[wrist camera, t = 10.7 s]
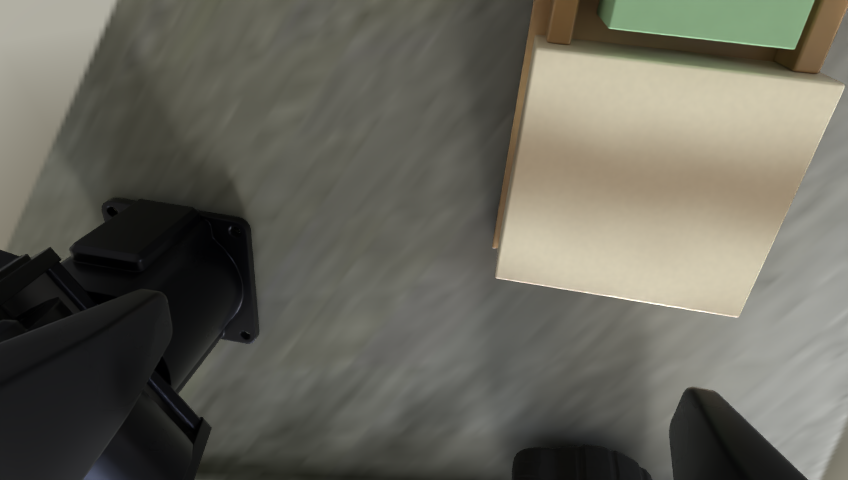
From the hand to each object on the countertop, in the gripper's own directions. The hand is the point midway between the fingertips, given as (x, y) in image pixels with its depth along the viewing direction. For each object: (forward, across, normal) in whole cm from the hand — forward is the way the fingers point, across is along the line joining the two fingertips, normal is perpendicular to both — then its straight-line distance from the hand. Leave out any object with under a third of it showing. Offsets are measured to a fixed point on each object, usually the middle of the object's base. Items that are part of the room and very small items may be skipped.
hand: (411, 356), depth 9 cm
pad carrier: (+12, -6, -4) cm, 14 cm away
